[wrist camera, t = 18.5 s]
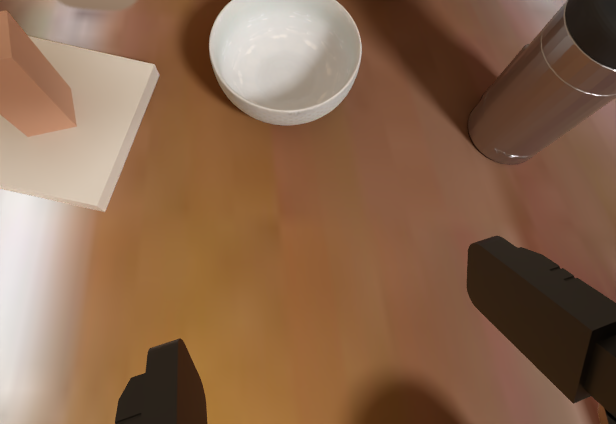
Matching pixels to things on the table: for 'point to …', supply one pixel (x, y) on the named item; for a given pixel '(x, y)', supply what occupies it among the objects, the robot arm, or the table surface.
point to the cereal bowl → (285, 57)
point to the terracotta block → (31, 84)
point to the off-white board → (80, 129)
